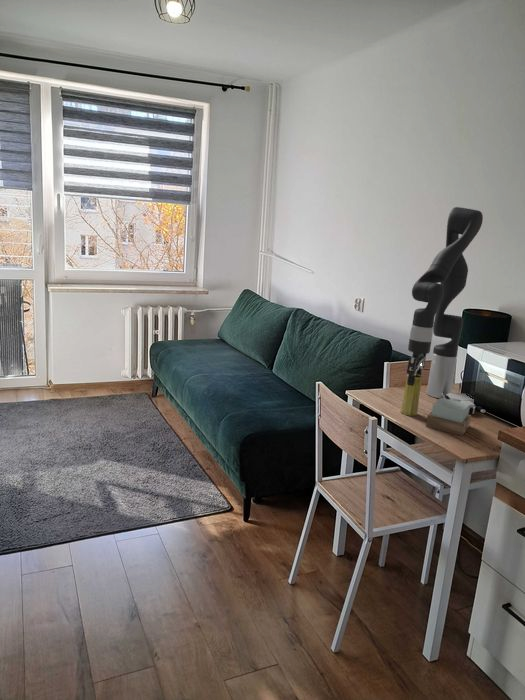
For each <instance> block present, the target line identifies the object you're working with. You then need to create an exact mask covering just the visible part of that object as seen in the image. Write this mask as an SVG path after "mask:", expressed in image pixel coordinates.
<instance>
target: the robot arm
mask: <svg viewBox="0 0 525 700" xmlns="http://www.w3.org/2000/svg"><path fill="white" fill-rule="evenodd" d="M483 219H484V217H483V212H482V211H480V210H478V209H472V208H465V207H461V206H455V207H453V208H452V209H451V210H450V212H449V214H448V219H447V225H446V237H445V248H443V249H442V250H440V251H439V252H438V253H437V254H436V256H435V257H434V258H433V260H432V263H431V264H430V266H429V268H428V269H427V271H425V272H424V273H423V274H422V275H421V276H420V277H419V278H418V279H417V280H416V281H415V283H414V284H413V285H412V289H411V296H412V299H413V300H415V301H418V302H423V303H427V305H426V306H425V308H417V309H415V310H414V313H413V318H412V324H411V329H410V332H409V339H408V340H409V341H408V345H407V350H408V351H409V352H411V353H412V356H409V357H408V362H407V369H406V370H407V371H406V375H407V374H409V375H408V382H407V384H408V385H411V386H413V385H414V381H415V375H416V374H418V375H421V376H422V371H424V369H425V368H426V367H425V365H426V364H425V363H426V357H427V355H429V354H430V353H431V347H432V345H431V344H432V340H433V335H434V336H435V337H439V338H445V339H451V340H449V341H448V342H446V343H441V344H436V345H434V346H433V349H432V356H431V363H430V369H429V374H428V375H429V376H428V382H427V388H426V395H427V396H429V397H432V398H435V399H439V398H444V397H445V396H446V394H448V393H452V392H451V391H452V387H453V380H454V374H455V369H456V365H457V364H456V363H457V357H458V350H459V344H460V340H461V335H462V331H463V327H464V319H463V317H462V316H460V315H453V314H448V313H447V314H446V313H445V312H446V310H447V308H448V307H449V306H450V304H451V303H452V301H454V300H455V298H457V297H458V296H459V295H460V294H461V293H462V292H463V291H464V289H465V288H466V286H467V285H466V284H467V278H468V275H469V267H468V263H467V261H466V258H465V256H464V252H465V251H466V249H467V248H468V246H469V245H470V244H471V243H472V242H473V240H474V239H475V238H476V236H477V235H478V233H479V231H480V230H481V228H482V225H483ZM442 393H443V395H444V397H443V395H442Z"/></svg>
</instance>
